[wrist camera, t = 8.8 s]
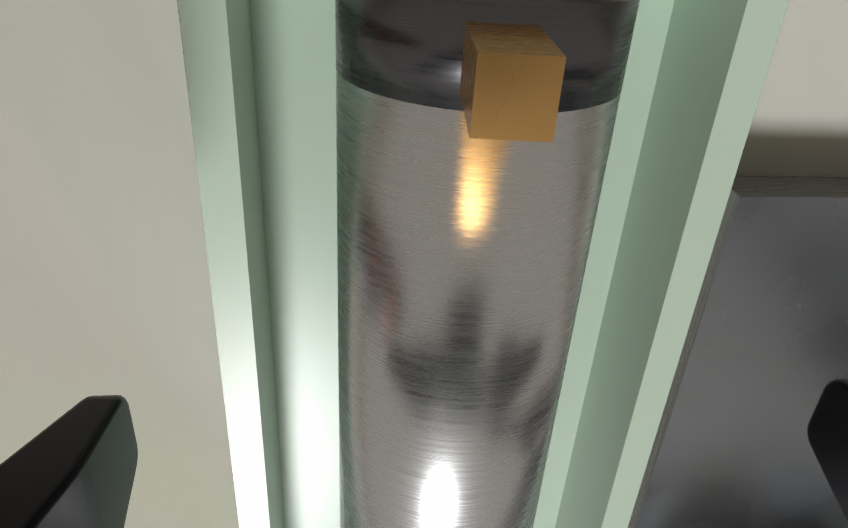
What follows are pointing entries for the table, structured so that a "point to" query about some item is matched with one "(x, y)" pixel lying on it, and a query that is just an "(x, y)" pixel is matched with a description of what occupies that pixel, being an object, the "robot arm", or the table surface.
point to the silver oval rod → (463, 244)
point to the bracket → (756, 366)
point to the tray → (317, 244)
